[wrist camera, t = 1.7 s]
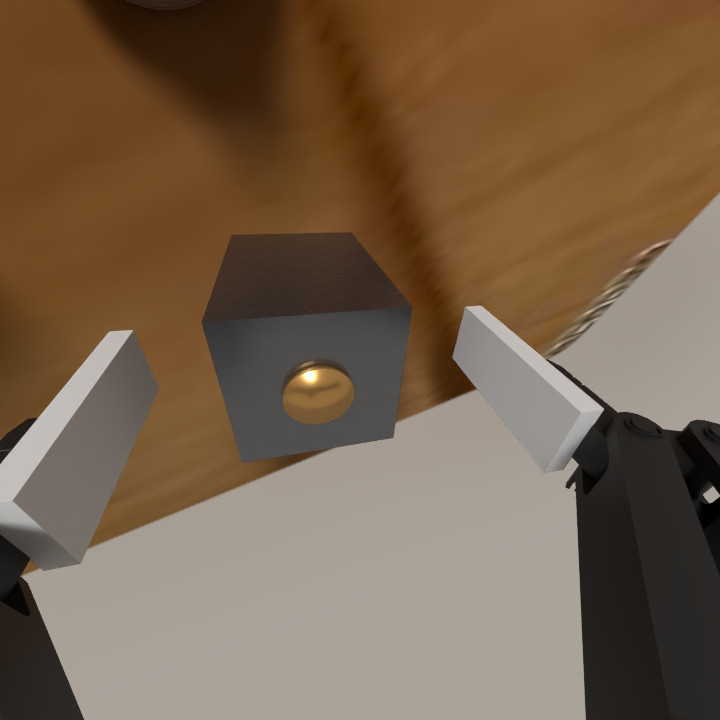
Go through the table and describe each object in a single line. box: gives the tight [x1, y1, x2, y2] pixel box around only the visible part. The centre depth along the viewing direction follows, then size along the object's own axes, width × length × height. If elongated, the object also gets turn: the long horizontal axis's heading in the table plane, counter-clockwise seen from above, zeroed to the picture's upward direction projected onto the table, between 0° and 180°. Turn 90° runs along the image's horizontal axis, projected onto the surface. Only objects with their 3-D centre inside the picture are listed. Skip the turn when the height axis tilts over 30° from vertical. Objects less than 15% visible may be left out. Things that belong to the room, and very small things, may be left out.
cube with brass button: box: [202, 233, 412, 463], centre depth 14 cm, size 6×6×9 cm
